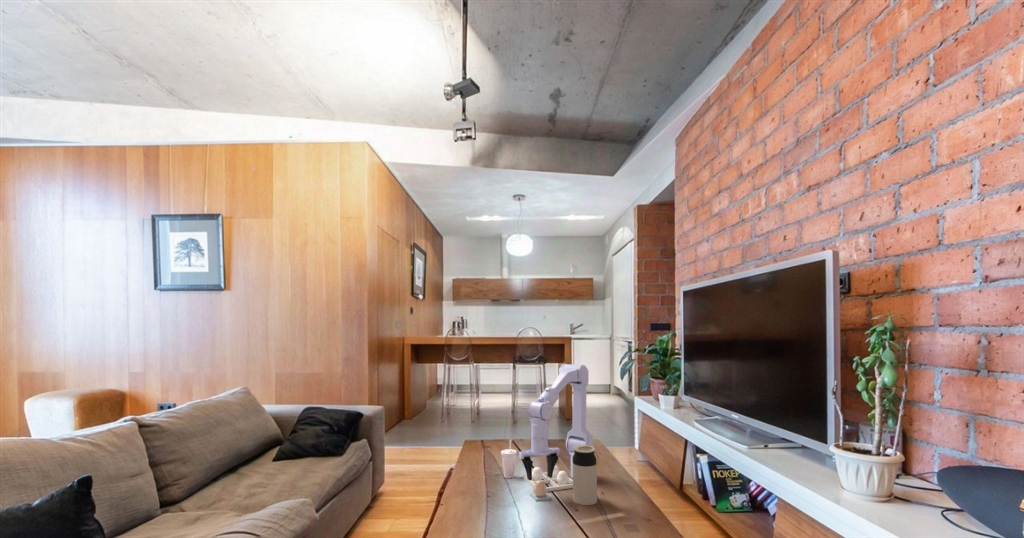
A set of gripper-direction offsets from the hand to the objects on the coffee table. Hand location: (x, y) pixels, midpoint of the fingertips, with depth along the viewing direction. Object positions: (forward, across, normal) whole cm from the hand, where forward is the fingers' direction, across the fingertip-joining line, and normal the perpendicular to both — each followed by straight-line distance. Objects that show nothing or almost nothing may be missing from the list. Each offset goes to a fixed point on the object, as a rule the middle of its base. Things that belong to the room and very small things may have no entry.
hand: (539, 478), depth 157 cm
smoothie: (+7, -2, +25) cm, 26 cm away
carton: (+7, +9, +11) cm, 16 cm away
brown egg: (+6, 0, 0) cm, 6 cm away
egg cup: (+7, 0, 0) cm, 7 cm away
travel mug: (+8, +13, -8) cm, 17 cm away
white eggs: (+7, +9, +11) cm, 16 cm away
